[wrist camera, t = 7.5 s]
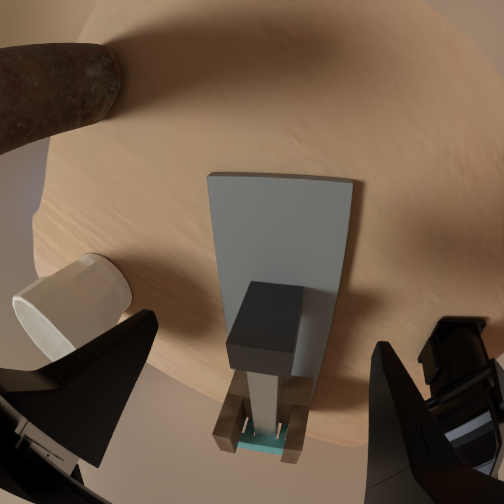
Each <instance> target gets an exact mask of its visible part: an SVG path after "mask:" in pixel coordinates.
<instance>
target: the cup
mask: <svg viewBox="0 0 504 504" xmlns="http://www.w3.org/2000/svg"><path fill="white" fill-rule="evenodd" d="M131 301H132V294H131V290H130V287H129V285H128V283H127V281H126V279H125V277H124V276H123V274H122V273H121V272H120V271H119V270H118V268H117V267H116V266H115V265H114V264H113V263H111V262H110V261H109V260H107V259H106V258H104V257H103V256H101V255H98V254H94V253H89V254H85V255H83V256H82V257H81V258H80V259H78V260H77V261H75V262H73V263H72V264H70V265H68V266H66V267H65V268H63V269H61V270H60V271H58V272H56V273H55V274H53V275H51V276H47V277H42V278H39V279H38V280H37V281H35V282H33V283H32V284H30V285H29V286H27V287H26V288H25V289H23V290H22V291H20V292H19V293H18V294H16V295H15V296H14V297H13V307H14V310H15V313H16V316H17V318H18V320H19V321H20V323H21V325H22V326H23V328H24V329H25V331H26V332H27V334H28V335H29V336H30V338H31V339H32V340H33V342H34V343H35V344H36V345H37V346H38V347H39V348H40V349H41V350H42V352H43V353H44V354H45V355H46V356H47V357H48V358H49V359H51V360H52V361H53V362H54V361H56V360H58V359H60V358H62V357H64V356H66V355H68V354H69V353H71V352H73V351H75V350H76V349H78V348H80V347H82V346H83V345H85V344H86V343H88V342H90V341H91V340H93V339H95V338H96V337H98V336H100V335H101V334H103V333H105V332H106V331H108V330H110V329H111V328H113V327H114V326H116V325H117V323H118V321H119V319H120V317H121V315H122V313H123V312H124V311H125V310H126V309H127V308H128V307H129V306H130V304H131Z"/></svg>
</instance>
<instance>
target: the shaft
mask: <svg viewBox="0 0 504 504" xmlns="http://www.w3.org/2000/svg"><path fill="white" fill-rule="evenodd" d="M303 294H304V286H296V285H286V284H276V283H267V282H257V281H251V282H250V284H249V286H248V289H247V291H246V294H245V296H244V299H243V301H242V304H241V306H240V309H239V311H238V314H237V316H236V319H235V321H234V324H233V326H232V329H231V331H230V334H229V336H228V338H227V341H226V348H227V353H228V358H229V363H230V368H231V369H237V370H242V371H247V378H248V386H249V393H250V401H251V409H252V416H253V424H254V431H255V436H260V437H265V438H272V439H276V438H277V434H278V425H279V412H280V398H281V382H282V377H287V378H291V373H292V367H293V362H294V357H295V351H296V345H297V339H298V333H299V327H300V321H301V315H302V305H303Z"/></svg>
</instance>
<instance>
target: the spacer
mask: <svg viewBox="0 0 504 504" xmlns="http://www.w3.org/2000/svg"><path fill="white" fill-rule="evenodd" d="M287 429H288V424H285V423H282V425H281V430H280V434H279V439H278V440H277V439H272V438H265V437H260V436H254V432H255V431H254V424H253V418H249V419H248V422H247V425H246V429H245V432H244V433H241V436H240V440H239V443H238V446H237V447H240V448H245V449H250V450H255V451H261V452H267V453H272V454H279V455H282V454H283V449H284V445H285V438H286V433H287Z"/></svg>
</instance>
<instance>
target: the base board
mask: <svg viewBox="0 0 504 504" xmlns="http://www.w3.org/2000/svg"><path fill="white" fill-rule="evenodd" d="M207 184H208V194H209V203H210V212H211V220H212V228H213V237H214V244H215V252H216V260H217V267H218V275H219V282H220V289H221V296H222V303H223V309H224V316H225V322H226V329H227V335H228V336H229V334H230V331H231V329H232V326H233V324H234V321H235V319H236V316H237V314H238V311H239V309H240V306H241V304H242V301H243V299H244V296H245V294H246V291H247V289H248V286H249V284H250V282H251V281H257V282H267V283H276V284H286V285H296V286H304V294H303V305H302V315H301V321H300V327H299V333H298V339H297V345H296V351H295V357H294V362H293V367H292V373H291V375H293V376H302V377H311V378H314V379H313V386H312V394H311V400H310V404H311V401H312V397H313V394H314V391H315V387H316V383H317V380H318V376H319V373H320V369H321V365H322V361H323V357H324V353H325V349H326V345H327V341H328V336H329V332H330V328H331V323H332V318H333V314H334V309H335V304H336V299H337V294H338V289H339V283H340V278H341V272H342V266H343V260H344V253H345V247H346V240H347V233H348V225H349V217H350V209H351V200H352V190H353V182H352V179H345V178H334V177H322V176H309V175H293V174H272V173H234V172H212V173H210V174H209V175H208V176H207ZM235 370H236V369H233V371H234V373H235Z"/></svg>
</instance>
